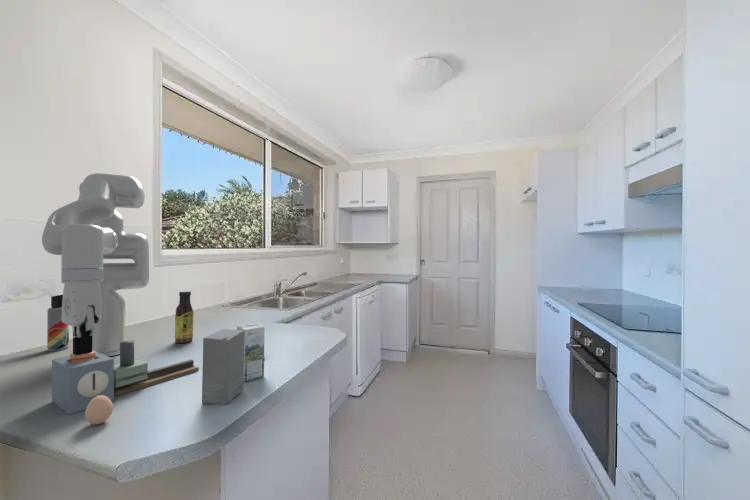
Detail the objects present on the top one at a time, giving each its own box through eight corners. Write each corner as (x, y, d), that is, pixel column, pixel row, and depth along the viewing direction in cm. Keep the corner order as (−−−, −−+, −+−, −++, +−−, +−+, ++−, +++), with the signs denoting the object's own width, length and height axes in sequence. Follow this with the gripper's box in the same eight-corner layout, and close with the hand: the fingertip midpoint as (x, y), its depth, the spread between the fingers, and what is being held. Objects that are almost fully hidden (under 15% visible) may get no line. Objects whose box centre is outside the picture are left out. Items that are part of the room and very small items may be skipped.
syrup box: (255, 371, 98) (255, 322, 98) (264, 377, 94) (264, 325, 94) (236, 376, 94) (236, 325, 94) (244, 382, 90) (244, 329, 90)
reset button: (66, 374, 78) (66, 354, 78) (91, 368, 82) (91, 349, 82) (73, 378, 76) (73, 357, 76) (98, 372, 80) (98, 352, 80)
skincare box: (220, 390, 85) (220, 328, 85) (246, 391, 84) (246, 328, 85) (199, 405, 77) (199, 336, 77) (228, 406, 76) (228, 337, 76)
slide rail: (102, 390, 85) (102, 380, 85) (185, 366, 103) (185, 357, 103) (114, 396, 81) (114, 386, 81) (198, 370, 99) (198, 361, 99)
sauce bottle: (184, 344, 128) (184, 292, 128) (170, 343, 129) (170, 292, 129) (197, 339, 134) (197, 290, 134) (183, 339, 135) (183, 290, 135)
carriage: (106, 382, 85) (106, 343, 85) (137, 374, 91) (137, 337, 91) (116, 387, 82) (116, 346, 82) (147, 378, 88) (147, 340, 88)
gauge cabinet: (52, 401, 79) (52, 359, 79) (94, 389, 86) (94, 350, 86) (70, 415, 72) (71, 369, 72) (115, 401, 79) (115, 359, 79)
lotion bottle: (58, 351, 119) (58, 295, 119) (42, 351, 119) (42, 295, 119) (73, 347, 124) (73, 293, 124) (58, 347, 124) (58, 293, 125)
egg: (106, 427, 67) (106, 399, 67) (80, 430, 66) (80, 401, 66) (116, 416, 72) (116, 390, 72) (92, 419, 70) (92, 392, 70)
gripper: (51, 276, 80) (51, 352, 80) (73, 278, 72) (73, 363, 72) (90, 274, 86) (90, 345, 86) (115, 276, 78) (114, 354, 78)
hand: (82, 353), depth 79 cm, fingers closed
